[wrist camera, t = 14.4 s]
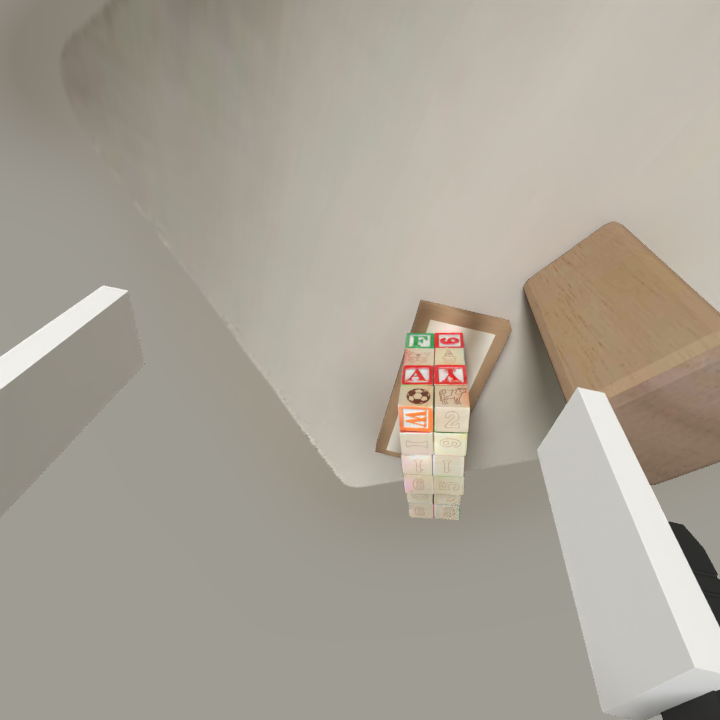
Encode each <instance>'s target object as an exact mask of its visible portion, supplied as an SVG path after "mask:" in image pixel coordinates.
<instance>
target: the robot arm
mask: <svg viewBox="0 0 720 720" xmlns="http://www.w3.org/2000/svg"><path fill="white" fill-rule="evenodd" d="M144 364H145V363H144V358H143V354H142V349H141V345H140V340H139V336H138V331H137V327H136V323H135V318H134V314H133V309H132V304H131V300H130V295H129V291H127V290H122V289H118V288H113V287H108V286H104V285H103V286H102V287H100V288H99V289H97V290H96V291H94V292H93V293H92V294H90V295H89V296H87V297H86V298H84V299H83V300H81V301H80V302H79V303H77V304H76V305H74V306H73V307H72V308H70V309H69V310H67V311H66V312H64V313H63V314H62V315H60V316H58V317H57V318H56V319H54V320H53V321H51V322H50V323H49V324H47V325H46V326H44V327H43V328H41V329H40V330H38V331H37V332H35V333H34V334H33V335H31V336H30V337H28V338H27V339H25V340H24V341H23V342H21V343H20V344H18V345H17V346H15V347H14V348H13V349H11V350H10V351H8V352H7V353H5V354H4V355H2V356H1V357H0V518H1V517H2V515H3V514H4V513H5V512H6V511H7V510H8V509H9V508H10V507H11V506H12V505H13V504H14V502H16V501H17V499H18V498H19V497H20V496H21V495H22V494H23V493H24V492H25V491H26V490H27V489H28V488H29V487H30V486H31V484H33V482H34V481H35V480H36V479H37V478H38V477H39V476H40V475H41V474H42V473H43V472H44V471H45V470H46V469H47V467H49V465H50V464H51V463H52V462H53V461H54V460H55V459H56V458H57V457H58V456H59V455H60V454H61V452H63V451H64V449H65V448H66V447H67V446H68V445H69V444H70V443H71V442H72V441H73V440H74V439H75V438H76V437H77V436H78V435H79V433H80V432H81V431H82V430H83V429H84V428H85V427H86V426H87V425H88V424H89V423H90V422H91V421H92V420H93V419H94V418H95V416H97V414H98V413H99V412H100V411H101V410H102V409H103V408H104V407H105V406H106V405H107V404H108V403H109V402H110V401H111V400H112V399H113V397H114V396H115V395H116V394H117V393H118V392H119V391H120V390H121V389H122V388H123V387H124V386H125V385H126V383H127V382H128V381H129V380H130V379H131V378H132V377H133V376H134V375H135V374H136V373H137V372H138V371H139V370H140V369H141V368H142V367H143V365H144ZM537 453H538V457H539V461H540V465H541V468H542V473H543V476H544V481H545V484H546V489H547V493H548V496H549V500H550V505H551V509H552V513H553V517H554V521H555V524H556V529H557V532H558V537H559V541H560V545H561V549H562V553H563V557H564V561H565V564H566V569H567V573H568V577H569V581H570V585H571V589H572V593H573V596H574V600H575V605H576V609H577V612H578V617H579V621H580V624H581V629H582V633H583V637H584V641H585V645H586V649H587V653H588V657H589V661H590V665H591V669H592V673H593V676H594V681H595V684H596V689H597V693H598V697H599V701H600V705H601V709H602V712H603V713H607V714H611V715H615V716H619V717H624V718H628V719H632V720H647V719H650V718H652V717H654V716H657V715H659V714H661V715H662V718H663V720H720V579H718V578H717V575H718V574H717V572H716V570H715V568H714V566H713V565H712V563H711V561H710V559H709V557H708V555H707V553H706V552H705V550H704V548H703V547H702V546H701V545H700V544H699V542H698V541H697V540H696V539H695V538H694V537H693V536H692V534H691V533H690V532H689V531H688V530H687V529H686V528H685V526H684V525H682V524H677V523H673V522H668V521H667V519H666V517H665V515H664V513H663V511H662V509H661V507H660V505H659V503H658V501H657V499H656V497H655V495H654V493H653V491H652V488H651V486H650V484H649V482H648V480H647V478H646V476H645V474H644V472H643V470H642V468H641V466H640V464H639V462H638V460H637V458H636V456H635V454H634V452H633V450H632V448H631V446H630V444H629V442H628V440H627V438H626V435H625V433H624V431H623V429H622V427H621V425H620V423H619V421H618V419H617V417H616V415H615V413H614V411H613V409H612V407H611V405H610V403H609V401H608V399H607V397H606V395H605V393H603V392H598V391H593V390H589V389H584V388H579V387H577V389H576V390H575V392H574V393H573V395H572V397H571V398H570V400H569V401H568V403H567V404H566V406H565V407H564V409H563V410H562V412H561V414H560V415H559V417H558V418H557V420H556V421H555V423H554V424H553V426H552V427H551V429H550V431H549V432H548V434H547V435H546V437H545V438H544V440H543V441H542V443H541V444H540V446H539V448H538V449H537Z"/></svg>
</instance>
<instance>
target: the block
mask: <svg viewBox="0 0 720 720" xmlns="http://www.w3.org/2000/svg"><path fill="white" fill-rule="evenodd" d="M524 291H525V295H526V297H527V300H528V303H529V305H530V308H531V310H532V313H533V316H534V318H535V321H536V324H537V326H538V329H539V332H540V334H541V337H542V339H543V342H544V345H545V347H546V350H547V353H548V355H549V358H550V361H551V363H552V366H553V368H554V371H555V374H556V376H557V379H558V382H559V384H560V387H561V390H562V392H563V395H564V398H565V400H566V403H568V401H569V400H570V398H571V397H572V395H573V393H574V392H575V390H576V389H577V387H579V388H584V389H589V390H593V391H598V392H603V393H605V395H606V397H607V399H608V401H609V403H610V405H611V407H612V409H613V411H614V413H615V415H616V417H617V419H618V421H619V423H620V425H621V427H622V429H623V431H624V433H625V435H626V438H627V440H628V442H629V444H630V446H631V448H632V450H633V452H634V454H635V456H636V458H637V460H638V462H639V464H640V466H641V468H642V470H643V472H644V474H645V476H646V478H647V480H648V482H649V484H650V485H656V484H659V483H662V482H665V481H667V480H670V479H673V478H676V477H679V476H681V475H684V474H687V473H690V472H692V471H696V470H698V469H701V468H704V467H707V466H710V465H712V464H715V463H718V462H720V313H719V312H718V311H717V310H716V309H715V308H713V307H712V306H711V305H710V304H709V303H708V302H707V301H706V300H705V299H704V298H702V297H701V296H700V295H699V294H698V293H697V292H696V291H695V290H694V289H693V288H691V287H690V286H689V285H688V284H687V283H686V282H685V281H684V280H683V279H682V278H680V277H679V276H678V275H677V274H676V273H675V272H674V271H673V270H672V269H671V268H669V267H668V266H667V265H666V264H665V263H664V262H663V261H662V260H661V259H660V258H658V257H657V256H656V255H655V254H654V253H653V252H652V251H651V250H650V249H649V248H647V247H646V246H645V245H644V244H643V243H642V242H641V241H640V240H639V239H638V238H636V237H635V236H634V235H633V234H632V233H631V232H630V231H629V230H628V229H627V228H625V227H624V226H623V225H621V224H619V223H617V222H611V223H608V224H606V225H604V226H603V227H601V228H600V229H598V230H597V231H596V232H594V233H593V234H591V235H590V236H589V237H587V238H586V239H584V240H583V241H582V242H580V243H579V244H577V245H576V246H575V247H573V248H572V249H570V250H569V251H568V252H566V253H565V254H563V255H562V256H561V257H559V258H558V259H556V260H555V261H554V262H552V263H551V264H549V265H548V266H547V267H545V268H544V269H542V270H541V271H540V272H538V273H537V274H535V275H534V276H533V277H531V278H530V279H528V281H527V282H526V283H525V284H524Z"/></svg>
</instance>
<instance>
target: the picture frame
mask: <svg viewBox="0 0 720 720" xmlns="http://www.w3.org/2000/svg"><path fill="white" fill-rule="evenodd" d="M511 330H512V329H511V326H510V322H509V320H505V319H501V318H497V317H492V316H488V315H484V314H479V313H475V312H471V311H466V310H462V309H458V308H454V307H449V306H445V305H441V304H436V303H432V302H428V301H423V300H421V301H420V304H419V307H418V310H417V313H416V317H415V320H414V323H413V326H412V330H411V333H463V341H464V349H465V350H464V357H465V365H466V371H467V381H468V392H469V402H470V414H471V412H472V410H473V408H474V406H475V404H476V402H477V399H478V397H479V395H480V393H481V391H482V389H483V387H484V385H485V383H486V381H487V379H488V377H489V375H490V373H491V371H492V369H493V367H494V365H495V363H496V361H497V359H498V357H499V355H500V353H501V351H502V349H503V347H504V345H505V343H506V341H507V339H508V337H509V335H510V333H511ZM404 357H405V352H404V355H403V359H402V362H401V365H400V368H399V372H398V375H397V378H396V381H395V385H394V388H393V391H392V394H391V397H390V401H389V404H388V407H387V410H386V414H385V417H384V420H383V423H382V427H381V430H380V433H379V436H378V439H377V444H376V451H375V452H379V453H383V454H387V455H391V456H396V457H400V458H401V443H400V427H399V414H398V401H399V394H400V388H401V376H402V367H403V366H404Z"/></svg>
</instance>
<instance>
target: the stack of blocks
mask: <svg viewBox="0 0 720 720" xmlns="http://www.w3.org/2000/svg"><path fill="white" fill-rule="evenodd" d="M464 350H465V349H464V341H463V333H407V336H406V342H405V357H404V366H403V367H402V376H401V388H400V394H399V401H398V414H399V427H400V443H401V461H402V471H403V478H404V487H405V493H407V501H408V502H409V517H414V518H428V519H434V518H436V519H449V520H459V518H460V504H461V496H462V495H464V461H465V455H466V451H467V437H468V433H467V432H468V429H469V417H470V402H469V392H468V381H467V371H466V365H465V357H464Z"/></svg>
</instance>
